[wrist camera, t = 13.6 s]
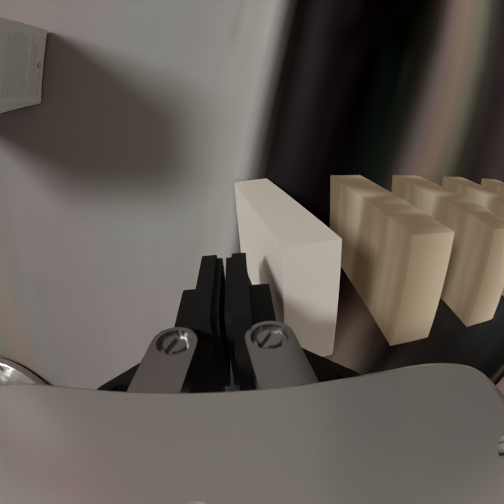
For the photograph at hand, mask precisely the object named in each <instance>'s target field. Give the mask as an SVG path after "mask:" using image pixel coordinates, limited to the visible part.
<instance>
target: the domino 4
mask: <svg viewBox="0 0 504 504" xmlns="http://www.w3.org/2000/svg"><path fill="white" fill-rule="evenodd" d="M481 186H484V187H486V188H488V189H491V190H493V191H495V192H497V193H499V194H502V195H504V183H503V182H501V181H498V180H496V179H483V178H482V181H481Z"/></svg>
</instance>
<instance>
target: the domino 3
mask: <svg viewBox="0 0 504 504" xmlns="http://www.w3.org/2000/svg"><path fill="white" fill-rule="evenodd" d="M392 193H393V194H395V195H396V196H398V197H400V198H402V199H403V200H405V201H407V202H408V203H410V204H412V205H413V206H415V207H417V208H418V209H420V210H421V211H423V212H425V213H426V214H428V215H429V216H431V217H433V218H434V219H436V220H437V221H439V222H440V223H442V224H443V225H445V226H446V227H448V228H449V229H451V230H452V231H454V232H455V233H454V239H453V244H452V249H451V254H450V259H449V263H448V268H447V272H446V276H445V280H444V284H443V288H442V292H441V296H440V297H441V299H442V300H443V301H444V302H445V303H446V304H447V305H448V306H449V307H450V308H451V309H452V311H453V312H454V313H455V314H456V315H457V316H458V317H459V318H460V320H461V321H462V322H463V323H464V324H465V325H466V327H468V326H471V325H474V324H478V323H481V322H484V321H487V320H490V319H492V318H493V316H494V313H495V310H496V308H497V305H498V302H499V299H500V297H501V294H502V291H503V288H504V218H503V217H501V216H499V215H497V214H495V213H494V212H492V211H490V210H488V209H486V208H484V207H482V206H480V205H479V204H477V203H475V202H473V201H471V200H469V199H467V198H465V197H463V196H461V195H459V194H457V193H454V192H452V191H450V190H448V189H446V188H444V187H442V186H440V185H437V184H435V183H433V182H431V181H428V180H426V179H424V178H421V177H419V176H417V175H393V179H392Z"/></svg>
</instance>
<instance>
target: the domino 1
mask: <svg viewBox="0 0 504 504" xmlns="http://www.w3.org/2000/svg"><path fill="white" fill-rule="evenodd" d="M234 186H235V197H236V207H237V217H238V227H239V237H240V247H241V253H246V261H247V273H248V275H249V278H250V280H251V283H252V285H256V284H268V283H269V286H270V291H271V296H272V301H273V306H274V312H275V317H276V321H278V322H282V323H285V324H286V325H288V326H289V327H290V328H291V329H292V330H293V332H294V333H295V335H296V337H297V339H298V341H299V343H300V345H301V347H302V348H304V349H306V350H308V351H310V352H313V353H315V354H317V355H319V356H321V357H324V356H327V355H331V354H333V346H334V338H335V328H336V318H337V308H338V296H339V283H340V268H341V251H342V238H340V237H339V236H338V235H337V234H336V233H335V232H333V231H332V230H331V229H330V228H329V227H327V226H326V225H325V224H324V223H322V222H321V221H320V220H319V219H318V218H316V217H315V216H314V215H313V214H311V213H310V212H309V211H308V210H306V209H305V208H304V207H303V206H301V205H300V204H299V203H298V202H296V201H295V200H294V199H293V198H291V197H290V196H289V195H288V194H286V193H285V192H284V191H282V190H281V189H280V188H279V187H277V186H276V185H275V184H273V183H272V182H271V181H269V180H268V179H267V178H266V179H257V180H248V181H240V182H234Z"/></svg>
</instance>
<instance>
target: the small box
mask: <svg viewBox="0 0 504 504" xmlns="http://www.w3.org/2000/svg"><path fill="white" fill-rule="evenodd" d="M46 38H47V30H44V29H41V28H38V27H34V26H31V25H27V24H24V23H20V22H16V21H12V20H8V19H4V18H0V113H3V112H7V111H11V110H14V109H18V108H22V107H27V106H31V105H36V104H40V103H41V93H42V76H43V64H44V54H45V46H46Z"/></svg>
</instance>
